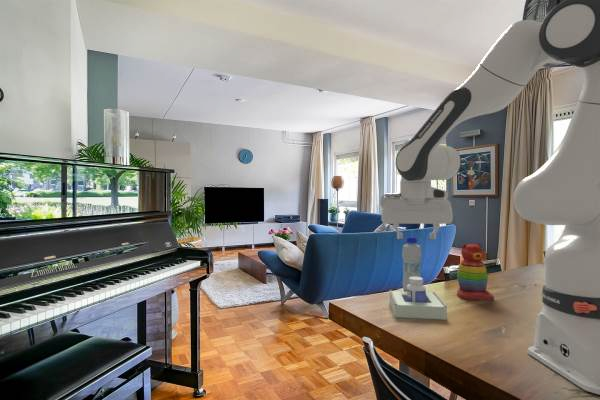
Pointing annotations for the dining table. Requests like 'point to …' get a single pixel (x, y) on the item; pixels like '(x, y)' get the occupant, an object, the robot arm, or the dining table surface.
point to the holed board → (418, 306)
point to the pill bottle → (416, 290)
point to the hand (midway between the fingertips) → (416, 238)
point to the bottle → (411, 261)
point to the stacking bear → (472, 274)
